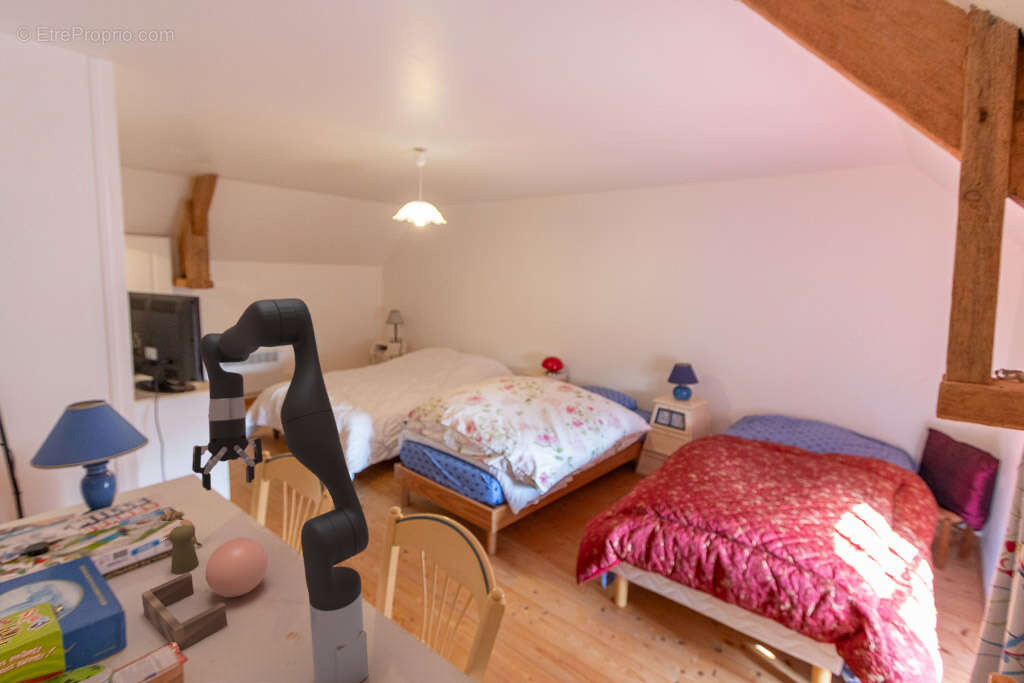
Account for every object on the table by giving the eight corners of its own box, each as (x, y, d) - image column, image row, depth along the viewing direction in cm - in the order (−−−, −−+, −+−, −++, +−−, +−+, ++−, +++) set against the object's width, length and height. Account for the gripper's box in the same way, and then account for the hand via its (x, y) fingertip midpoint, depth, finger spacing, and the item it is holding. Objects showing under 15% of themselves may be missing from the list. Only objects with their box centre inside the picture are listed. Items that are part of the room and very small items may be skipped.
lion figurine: (156, 541, 138) (152, 512, 136) (175, 532, 143) (171, 503, 141) (193, 552, 133) (190, 522, 131) (211, 542, 138) (208, 512, 136)
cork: (185, 575, 123) (180, 535, 121) (165, 572, 124) (160, 532, 122) (204, 561, 129) (200, 523, 127) (185, 558, 130) (181, 520, 128)
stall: (227, 625, 106) (225, 604, 105) (177, 653, 98) (175, 631, 98) (191, 591, 117) (189, 572, 116) (144, 613, 109) (141, 593, 109)
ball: (280, 587, 118) (276, 538, 116) (223, 618, 108) (218, 565, 106) (253, 567, 126) (249, 521, 124) (198, 594, 116) (193, 544, 114)
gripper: (195, 421, 107) (197, 495, 107) (264, 414, 117) (266, 482, 116) (188, 419, 113) (190, 490, 112) (255, 413, 122) (257, 477, 122)
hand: (229, 486), depth 114 cm, fingers open, 8 cm apart
